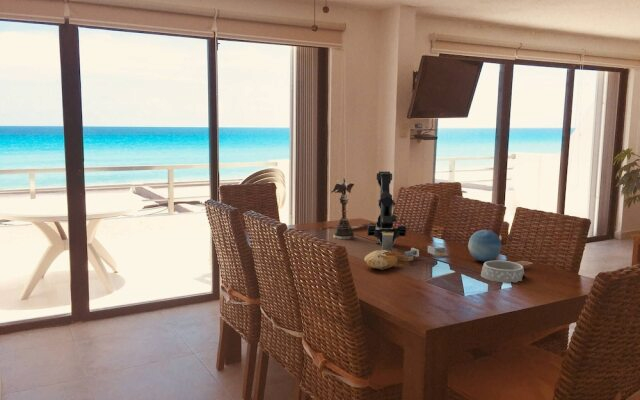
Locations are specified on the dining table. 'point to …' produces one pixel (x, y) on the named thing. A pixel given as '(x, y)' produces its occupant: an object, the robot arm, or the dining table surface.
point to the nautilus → (382, 259)
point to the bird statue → (343, 211)
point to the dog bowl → (502, 271)
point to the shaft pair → (432, 250)
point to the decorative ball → (484, 245)
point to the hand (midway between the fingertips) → (387, 245)
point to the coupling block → (387, 240)
